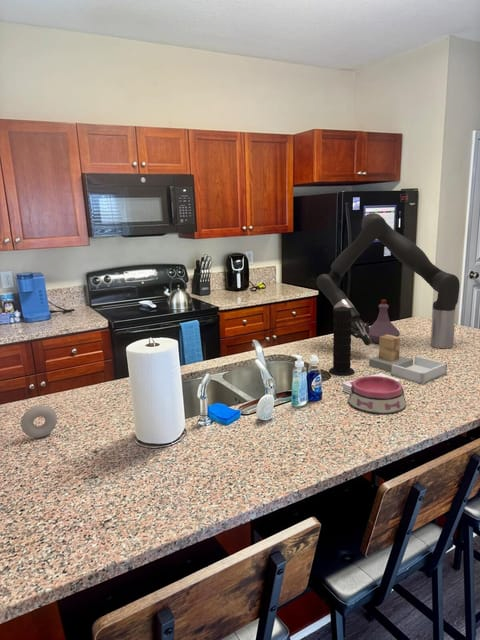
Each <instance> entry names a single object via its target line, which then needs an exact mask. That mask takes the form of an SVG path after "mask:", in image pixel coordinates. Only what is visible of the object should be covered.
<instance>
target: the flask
mask: <svg viewBox="0 0 480 640" xmlns="http://www.w3.org/2000/svg"><path fill="white" fill-rule="evenodd" d="M389 307H390V306H389V304H387V299H381V300H380V304H378V309H379V312H378V316H377V318H376V320H375V321H374V322H373V323H372V324H371V326H370V325H369V334H367V336H368V337H369V339H370V340H371V342H373V343H377V344H379V337H381V336H384V335H392V336H396V337H399V336H401V333H400V330H398V329H397V327H396V326H395V325H394V324H393V323H392V322H391V321H390V317H389V313H388V310H389Z"/></svg>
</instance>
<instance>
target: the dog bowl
mask: <svg viewBox="0 0 480 640" xmlns="http://www.w3.org/2000/svg"><path fill="white" fill-rule="evenodd" d="M404 391H405V390H404V388H403V385H402V383H401V382H399V381H398V380H397V379H395V378H390V377H387V376H381V375H380V376H379V375H375V376H374V375H369V376H368V375H367V376H362V377H359V378H355V380H354V381H353V382H352V384H351V386H350V391H349V395H348V398H347V403H348V406H350V407H352V408H353V409H355V410H357V411H359V412H362V413H367V414H373V415H393V414H398V413H399V412H402V411H403V410H405V409H406V408H407V402H406V397H405V392H404Z"/></svg>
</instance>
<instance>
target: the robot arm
mask: <svg viewBox="0 0 480 640" xmlns="http://www.w3.org/2000/svg"><path fill="white" fill-rule="evenodd" d="M361 229H362V230H361V231H360V233H359V234H358V235H357V237H356V238H355V240H354V241H352V243H350V244H349V245H348V246H347V247H345V249H344V250H343V251H342V252H341V253H340V254H339V255H338V256H337V257H336V259H335V260H334V261H333V262H332V264H331V265H330V271H329V273H322V274H319V275H318V277H317V278H316V285H317V287H318V289H319V290H320V292H321V293H323V295H324V296H325V297H326V298H327V299H328V300H329V302H330V303H331V305H332V307H333V309H334V308H337V307H341V306H343V307H348V308H351V309H352V310H351V315H352V317H351V319H352V320H351V337H352V336H353V338H355V339H360V340H361V341H362V342H363V343H364V345H365V346H370V345H371V344H372V340H371V339H370V337H369V336H368V335H367V334H369V327H370V323H369V322H366V323H365V322H364V321H363V320H362V319H361V318H360V316H361V315H360V312H359V311H358V310H357V308H356V307H355V306H354V304H353V303H352V302H351V300H349V298H348V297H347V295H346V294H345V293H344V291H343V290H342V289H340V288H339V287H338V286H339V284H340V283H341V281H342V279H343V277H344V276H345V273H346V272H347V271H349V269H350V268H351V267H352V265H353V264H354V263H355V262H356V261H357V259H358V258H359V257H360V256H361V255H362V254H363V253H364V251H365V250H366V249H368V248H369V247H370V245H372V244H374V242H375V241H376V240H377V241H378V242H380V243H381V244H383V245H384V247H385V248H386V249H387V250H388V252H390V253H391V254H392V255H393V256H394V258H396V259H397V260H398V261H399V262H400V263H402V264H403V265H404V266H406V267H407V268H408V269H410V270H411V271H412V272H413V273H415V274H417V275H418V276H420V277H421V278H422V279H423V280H424V281H425V282H426V283H427V284H428V285H429V286H430V287H431V288H432V289H433V290H434V291H435V292H437V298H436V300H435V301H433V303H432V314H431V315H432V317H431V333H430V346H431V347H433V348H437V349H451V348H453V347H454V341H455V340H454V339H455V318H456V306H457V305H458V302H459V295H460V294H459V293H460V287H461V286H460V285H461V284H460V280H459V278H458V276H457V275H455V274H453V273H449V272H446V271H444V270H442V269H440V268H439V267H438V266H436V265H435V264H433V262H431V260H430V258H428V256H427V255H426V253H425V252H424V251H423V250H422V248H420V247H419V246H417V245H416V244H415V243H414V242H413V241H412V240H410V239H409V238H407V237H406V236H404V235H402V234H401V233H399V232H397V231H396V230H395V229H393V228H392V227H391V225H389V224H388V223H387V222H386V219H385V218H384V217H382V216H381V215H380V214H378V213H375V212H370V213H368V214H365V215H364V216H363V218H362V220H361Z"/></svg>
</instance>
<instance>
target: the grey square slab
mask: <svg viewBox="0 0 480 640" xmlns="http://www.w3.org/2000/svg"><path fill="white" fill-rule="evenodd" d="M368 362H369V363H368V367H371V368H374V369H378V370H381V371H385V372H387V373H391V371H392V365H393V364H394V365H397V366H401V367H404V368H406V367H409V366H412V365H414V359H413V358H410V357H406V356H402V355H399V359H397V360H395V361H392V362H391V361H387V360H384V359H380V358H379V355H377V356H374V357H371V358H369V359H368Z"/></svg>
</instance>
